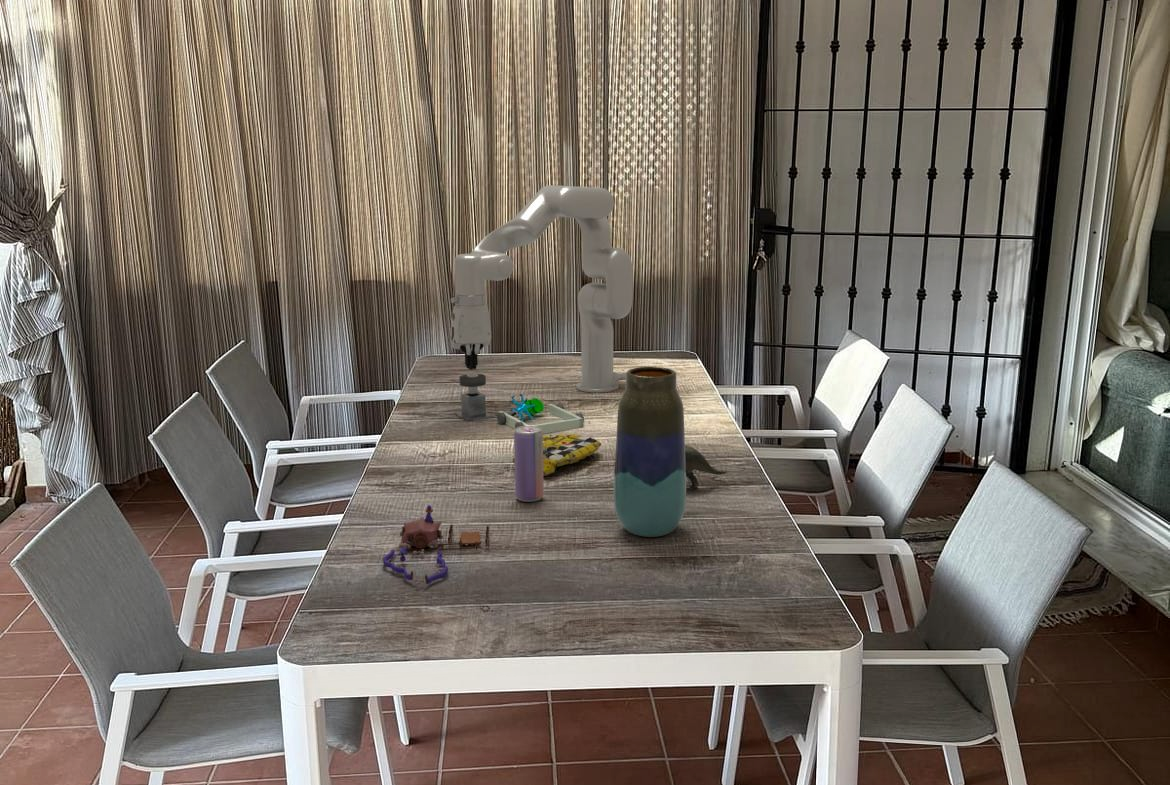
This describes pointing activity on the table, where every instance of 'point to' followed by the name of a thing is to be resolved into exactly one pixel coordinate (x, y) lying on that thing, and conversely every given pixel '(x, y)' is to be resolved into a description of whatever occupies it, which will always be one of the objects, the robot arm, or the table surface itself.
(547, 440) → the toy spacecraft
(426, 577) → the playset
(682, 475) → the vase
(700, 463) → the dinosaur figurine
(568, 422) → the chassis bay
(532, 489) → the beverage can
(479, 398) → the axle mount
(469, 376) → the wheel
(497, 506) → the table surface
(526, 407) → the stick construction toy
